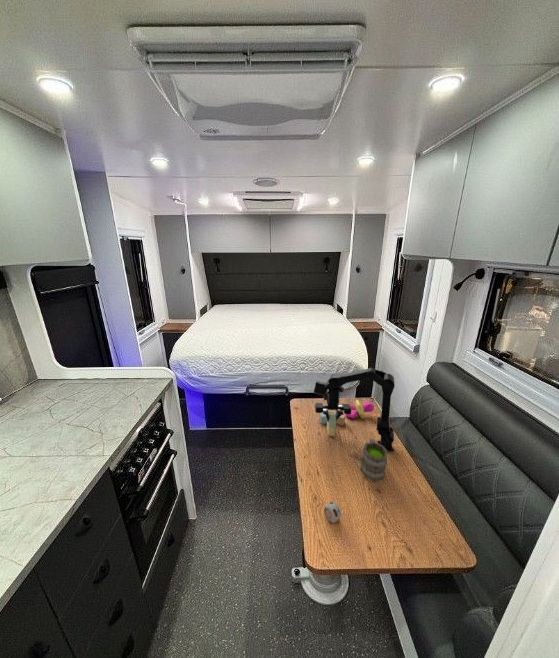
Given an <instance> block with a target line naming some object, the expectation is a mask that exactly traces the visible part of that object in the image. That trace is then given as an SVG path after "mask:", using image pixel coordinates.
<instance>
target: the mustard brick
mask: <svg viewBox="0 0 559 658" xmlns="http://www.w3.org/2000/svg"><path fill="white" fill-rule="evenodd" d="M326 432H327V436H329V437H335V436H336V435H335V434H336V427H329V424H328V421H327V423H326Z"/></svg>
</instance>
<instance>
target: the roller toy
mask: <svg viewBox="0 0 559 658" xmlns="http://www.w3.org/2000/svg"><path fill="white" fill-rule="evenodd" d="M323 511H324V514H325V516H326V518H327V520H328V521H329V522H331V523H332V524H335V523H336V522H337V523H340V522H341V517H342V510H341V507H340V506H339V505H338V504H337V502H335V501H330V502H329V503H327V504H326V505H324V508H323Z"/></svg>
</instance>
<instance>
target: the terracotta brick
mask: <svg viewBox="0 0 559 658" xmlns="http://www.w3.org/2000/svg"><path fill="white" fill-rule="evenodd" d="M335 415H336V411H335ZM346 417H347V416H346V414H343V415H341V416H340V417H339V418H338V420H337V421H336V425H340V426H344V424H345V422H346Z"/></svg>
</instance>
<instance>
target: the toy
mask: <svg viewBox="0 0 559 658" xmlns="http://www.w3.org/2000/svg"><path fill="white" fill-rule="evenodd" d="M349 405H350V407H351V411H352V412H351V414H345V415H346V416H345V417H348V418H351V419H355V418H356V416H357V415H359V417H360V419H362V420H364V418H365V413H372V412H373V411H374V409H375V405H374V404H373V403H372V402H370V401H367V402H365V403H362V404H361V402H360V401H359V399H356V400H355V406H354V405H352V404H349Z"/></svg>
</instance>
